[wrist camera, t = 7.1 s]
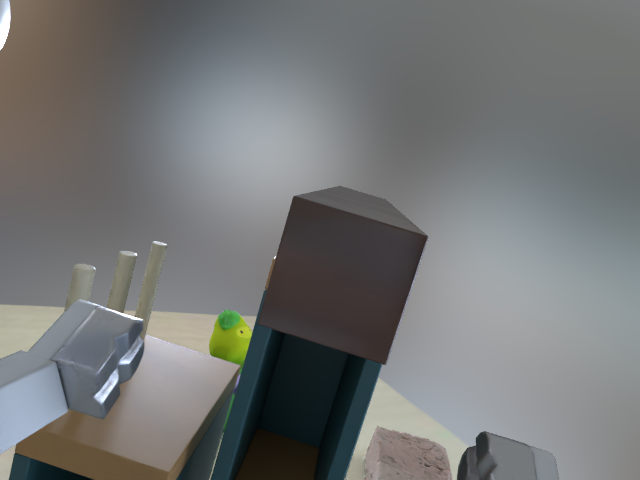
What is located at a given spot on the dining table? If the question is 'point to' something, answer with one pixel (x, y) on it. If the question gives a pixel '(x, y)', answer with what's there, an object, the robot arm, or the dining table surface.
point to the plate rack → (208, 407)
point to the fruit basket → (230, 342)
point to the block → (343, 272)
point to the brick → (405, 457)
